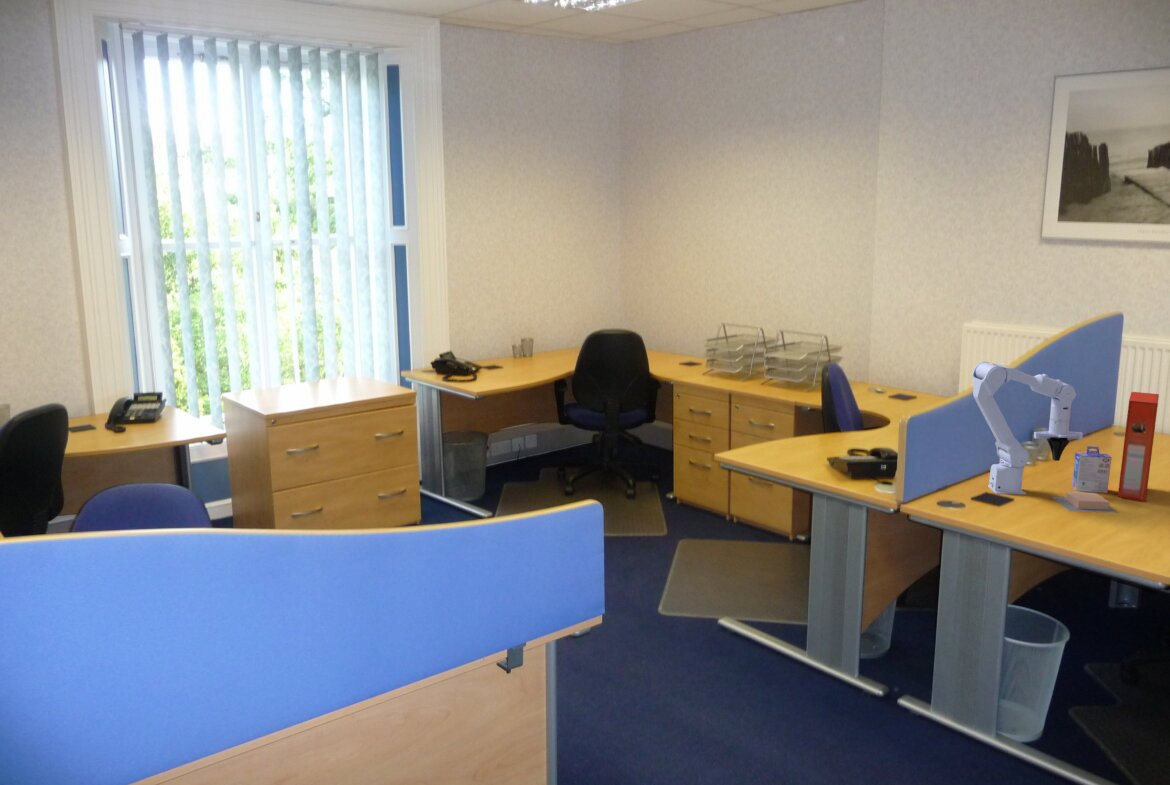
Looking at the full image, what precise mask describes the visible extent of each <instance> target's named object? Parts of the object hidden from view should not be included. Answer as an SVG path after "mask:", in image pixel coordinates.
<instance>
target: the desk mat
mask: <svg viewBox="0 0 1170 785" xmlns="http://www.w3.org/2000/svg"><path fill="white" fill-rule="evenodd" d="M1051 499H1053V500H1055V501H1056V503H1059V504H1060V505H1061V506H1063V507H1064V509H1066V510H1068V511H1069V512H1079V513H1081V512H1084V513H1108V514H1109V513H1111V514H1112V513H1114V514H1118V511H1116V510H1115V509H1113V508H1112V507H1111V506H1109V508H1108V510H1102V509H1078V508H1076V507H1075V506H1074V505H1072V504H1071V503H1069V502H1068V501H1067V500H1065V499H1066V496H1051Z"/></svg>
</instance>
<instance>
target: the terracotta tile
mask: <svg viewBox="0 0 1170 785" xmlns="http://www.w3.org/2000/svg"><path fill="white" fill-rule="evenodd" d="M1065 492H1066V493H1065V497H1066V499H1065V500H1067V501H1068V502H1069V503H1071V504H1072V505H1074V506H1075V507H1076V508H1078V509H1102V510H1108V508H1109V507H1110V501H1109V500H1107V499H1105V498H1104V497H1103V496H1101V495H1100V494H1099V493H1098V492H1082V491H1073V492H1072V491H1065Z"/></svg>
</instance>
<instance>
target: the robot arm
mask: <svg viewBox="0 0 1170 785" xmlns="http://www.w3.org/2000/svg"><path fill="white" fill-rule="evenodd" d="M971 378H972V380H973V383H972V384H973V387H972V392H973V394H972V396H973V398H974V400H975V402H976V404H977V406H978V408H979V410H980V412H981V414H982V415H983V418H984V419H985V422H986V423H987V425H988V427H989V429H990V430H991V433H992V435H993V437H994V439H995V440H996V441H995V443H994V444H995V447H996V455H997V456H998V458H999V463H994V464H992V465H991V467H990V470H989V471H990V472H989V482H988V485H987V487H988V488H989V490H991V491H993V492H994V493H995V494H998V495H999V494H1005V495H1006V494H1007V495H1027V493H1026V492H1025V491H1024V489H1022V488H1023V478H1024V470H1025V469H1024V468H1025V466H1026V465H1027V464H1028V462H1029V460H1030V454H1029V451H1028V450H1027V449H1026V448H1024V447H1023V446H1022V445H1021V443H1020V442H1019V441H1018V440H1017V438H1015V436H1014V434H1013V432H1012V430H1011V428H1010V427H1009V425H1008V423H1007V421H1006V419H1005V417H1004V415H1003V413H1002V411H1001V409H1000V407H999V405H998V404H997V402H996V399H995V398H994V395H995V393H996V392H997V391H998V390H999V389H1000V388H1001V386H1002V385H1003V384H1004V383H1005V382H1006V383H1008V382H1010V381H1011V380H1012V381H1016V382H1018V383H1022V384H1025V385H1028V386H1029V387H1030V389H1031V391H1032V392H1035V393H1037V394H1041V395H1044V396H1046V397H1049V398H1051V401H1050V402H1051V403H1050V410H1049V411H1050V414H1049V421H1048V422H1049V423H1048V430H1042V431H1034V432H1033V438H1034V439H1035V440H1040V439H1046V441H1047V443H1048V445H1049V448H1050V451H1051V457H1052V460H1053V461H1054V462H1057V461H1058V462H1059V461H1060V460H1061V456H1062V454H1063V452H1064V450H1065V449H1066V447H1067V445H1069V443H1070V442H1069V441H1070V440H1069V439H1072V440H1073V439H1074V440H1075V439H1077V440H1083V438H1084V433H1083V432H1081V431H1069V429H1070V421H1071V420H1070V419H1071V410H1072V408H1071V407H1072V405H1073V404H1072V403H1073V401H1074V400H1075V398H1076V397H1077V393H1076V390H1075V388H1074V386H1073V385H1072V384H1068V383H1066V382H1063V381H1062V380H1061V379H1058V378H1057V379H1054V378H1051V377H1049V375H1048V374H1045V373H1042V374H1039V373H1038V374H1037V375H1036V374H1035V375H1034V376H1033V375H1031V374H1028V373H1025V372H1022V371H1020V370H1018V369H1015V368H1013V367H1009V366H1006V365H1003V364H998V363H990V362H988V361H981V362H979V363H978V364H976V365H975V367H974V368H973V372H972V373H971Z"/></svg>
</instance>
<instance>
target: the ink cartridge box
mask: <svg viewBox="0 0 1170 785" xmlns="http://www.w3.org/2000/svg"><path fill="white" fill-rule="evenodd" d="M1091 449H1093V450H1091ZM1112 458H1113V457H1112V456H1110V455H1109V454H1108V453H1100V448H1099V446H1091V445H1090V446H1089V445H1086V452H1075V453H1074V462H1073V464H1074V466H1073V474H1072V483H1071V484H1072V485H1071V487H1072V489H1073V490H1074V492H1085V493H1105V494H1107V493H1108V491H1109V484H1110V483H1109V481H1110V471H1111V467H1112Z"/></svg>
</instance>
